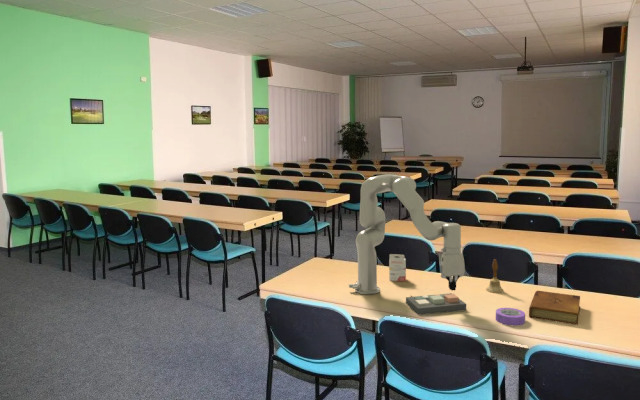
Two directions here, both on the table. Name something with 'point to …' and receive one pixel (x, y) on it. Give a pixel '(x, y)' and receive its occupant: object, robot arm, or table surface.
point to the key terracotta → (451, 298)
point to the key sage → (436, 299)
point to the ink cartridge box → (397, 268)
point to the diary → (555, 307)
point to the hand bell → (494, 280)
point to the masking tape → (510, 316)
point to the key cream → (422, 302)
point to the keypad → (434, 305)
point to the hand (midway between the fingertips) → (452, 289)
